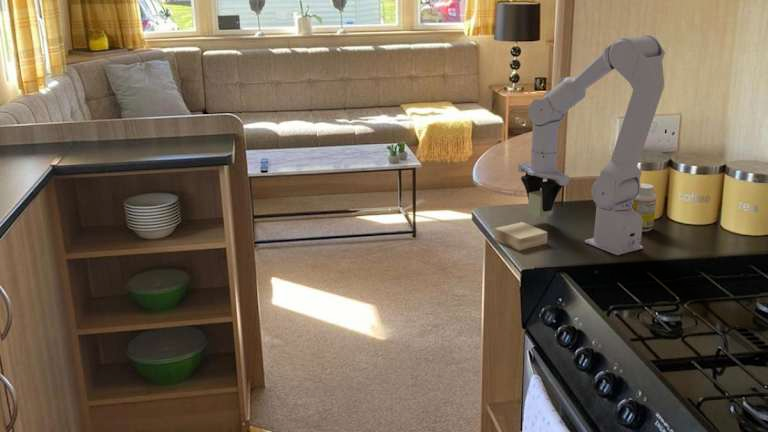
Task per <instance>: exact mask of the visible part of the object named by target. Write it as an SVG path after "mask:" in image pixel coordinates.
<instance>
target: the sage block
mask: <svg viewBox="0 0 768 432" xmlns="http://www.w3.org/2000/svg"><path fill="white" fill-rule="evenodd" d="M527 202H528V205H527V214H529V215H531V216H534V217H537V218H539V219H540V218H545V217H549V216H553V215H554V213H553V211H554V206H553V207H552V210H551V211H546V212H545V211H543V196H542V190H541V189H540V190H539V191H534V192H530V193H529V200H528V201H527Z"/></svg>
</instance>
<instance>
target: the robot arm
mask: <svg viewBox="0 0 768 432" xmlns="http://www.w3.org/2000/svg"><path fill="white" fill-rule="evenodd" d="M665 53H666V52H665V50H664V49H663V46H662V45H661V43H660V42H659V40H658V39H657V38H656V37H654V36H652V35H641V36H637V37H629V38H628V37H621V38H618V39H616V40H614V41H613V42H612V44H610V45H608V46H606V47H605V48H604V49H603V51H602V52H601V53H600V54H599V55H598V56H597V57H596V58H595V59H594V60H593V61H591V62H590V64H588V65H587V66H586V67H585V68H583V70H582V71H581V72H580V73H579V74H578V75H576V76H567V77H561V78H560V79H559V80H558V84H557V85H556V86H555V87H553V88H552V89H551V90H547V91H546V92H545V93H544V95H543V98H541V97H540V98H539V97H538V98H535V99H533V100H532V101H531V103H529V106H528V110H527V115H528V117H529V120H530V121H531V122H532V130H531V131H532V132H531V150H530V163H528V162H520V163H518V165H517V166H518V167H517V172H518V173H525V174H524V175H522V176H521V177H520V180H521V182H522V184H523V185H524V188H525V191H526V196H527V199H528V200H529V193H530V192H534V191H539V190H542V196H543V211H545V212H546V211H551V210H552V207H553V208H554V203H555V200H556V198H557V196H558V194H559V192H560V191H561V189H562V188H563V186H567V185H569V178H570V177H569V175H566V174H564V173H562V172H561V171H560V170H558V169H557V159H558V158H557V156H558V155H557V154H558V144H559V143H558V142H559V129H560V127H561V123H562V121H563V120H564V117H566V113H567V112H568V111H570V109H572V108H574V107H575V106H576V105H577V104H578V103H580V102H581V101H582V100H583V99H584V98H585V97H586V91H587V90H586V89H588V88H590V87H591V86H592V85H593V84H596V82H598V81H600V80H601V79H602V78H604V77H605V76H606V75H608V74H609V73H611V72H612V71H614V70H616V71H617V72H618V73H619V74H620V76H622V77H623V78H624V79H625V80H626V81H627V82H628V83H629V84H630V86H631V88H632V93H631V96H630V100H629V102H628V105H627V109H626V111H625V114H624V118H623V121H622V124H621V127H620V130H619V133H618V137H617V139H616V142H615V146H614V148H613V152H612V156H611V157H610V161H608V163H606V165H605V166H604V167H603V168H602V170H601V171H600V173H599V177H598V178H597V179H596V180H594V182H593V184H592V186H591V189H590V193H591V198H592V200H593V202H594V203H595V207H596V210H595V221H594V222H595V223H594V230H593V231H594V232H593V237H592V238H588V239H585V240H584V243H585V244H588V245H589V246H593V247H595V248H598V249H600V250H603V251H604V252H605V251H606V252H608V253H610V254H613V255H615V256H620V255H623V254H628V253H630V252H634V251H635V252H636V251H639V250H641V249H642V250H643V247H644V246H643V245H642V244H641V240H642V233H643V232H642V226H643V219H642V216H641V215H640V214H639V213H637V212H635V211H634V210H633V208H632V204H633V200H634V198H636V197H637V196H638V194H639V192H640V183H641V176H642V174H643V172H642V170H641V169H640V168H639V166H638V164H639V162H640V158H641V156H642V152H643V150H644V147H645V144H646V141H647V139H648V135H649V132H650V129H651V126H652V123H653V121H654V118H655V115H656V112H657V109H658V106H659V104H660V103H659V102H660V100H661V97H662V94H663V91H664V87H665V79H664V77H665V76H664V67H663V66H664V64H663V60H664V57H665V55H666V54H665ZM544 180H545V181H544Z"/></svg>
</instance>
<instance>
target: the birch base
mask: <svg viewBox="0 0 768 432" xmlns="http://www.w3.org/2000/svg"><path fill="white" fill-rule="evenodd" d="M493 240H494V241H496V242H499V243H501V244H503V245H506V246H508V247H510V248H512V249H514V250H517V251H522V250H523V251H524V250H527V249H531V248H534V247H539V246H542V244H543V245H546V244H548V231H546V230H543V229H541V228H538V227H537V226H536V227H535V226H533V225H531V224H529V223H526V222H523V221H520V222H517V223H511V224H509V225H508V224H507V225H503V226H499V227H495V228H494V239H493Z"/></svg>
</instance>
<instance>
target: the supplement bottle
mask: <svg viewBox="0 0 768 432" xmlns="http://www.w3.org/2000/svg"><path fill="white" fill-rule="evenodd" d="M654 187H655V186H654V185H652V184H650V183H644V182H643V183H641V182H640V192H639V194H638V196H637V197H636V198H634V200H633V204H632V208H633V210H634V211H635V212H637V213H639V214H640V215H641V216H642V219H643V226H642V233H643V232H650V231H651V230H653V228H654V222H655V221H654V220H655V213H656V205H657V195H656V194H655V193H654Z"/></svg>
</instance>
